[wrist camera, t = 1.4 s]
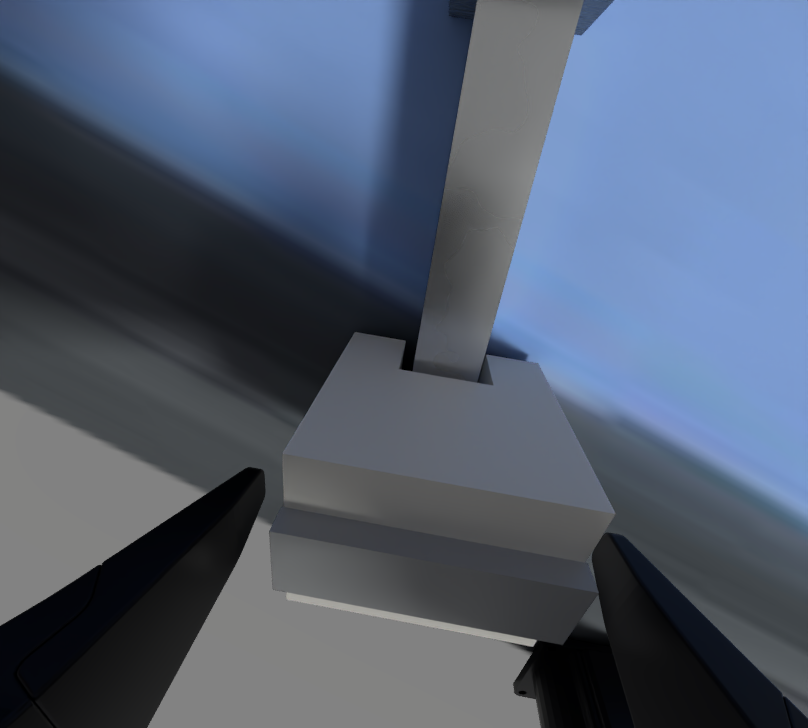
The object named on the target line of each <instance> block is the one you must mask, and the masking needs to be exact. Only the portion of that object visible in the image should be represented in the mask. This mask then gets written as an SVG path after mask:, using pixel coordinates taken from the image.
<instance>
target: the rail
mask: <svg viewBox="0 0 808 728" xmlns="http://www.w3.org/2000/svg"><path fill="white" fill-rule="evenodd" d="M613 1H614V0H449V16H454V17H461V18H468V19H474V21H473V26H472V32H471V38H470V43H469V49H468V55H467V61H466V66H465V72H464V78H463V84H462V89H461V95H460V101H459V107H458V112H457V118H456V124H455V129H454V135H453V141H452V147H451V152H450V158H449V164H448V170H447V175H446V181H445V187H444V193H443V198H442V204H441V210H440V216H439V221H438V227H437V233H436V238H435V244H434V250H433V256H432V261H431V267H430V273H429V279H428V284H427V290H426V296H425V302H424V307H423V313H422V319H421V324H420V330H419V336H418V342H417V347H416V353H415V359H414V365H413V370H412V372H418V373H424V374H429V375H435V376H441V377H447V378H452V379H458V380H464V381H470V382H475V383H477V381H478V378H479V374H480V371H481V367H482V364H483V360H484V356H485V353H486V349H487V346H488V342H489V338H490V335H491V331H492V328H493V324H494V320H495V317H496V313H497V310H498V306H499V303H500V299H501V295H502V292H503V288H504V285H505V281H506V277H507V274H508V270H509V267H510V263H511V259H512V256H513V252H514V249H515V245H516V242H517V238H518V234H519V231H520V227H521V224H522V220H523V216H524V213H525V209H526V206H527V202H528V199H529V195H530V191H531V188H532V184H533V181H534V177H535V173H536V170H537V166H538V163H539V159H540V155H541V152H542V148H543V145H544V141H545V138H546V134H547V130H548V127H549V123H550V120H551V116H552V112H553V109H554V105H555V102H556V98H557V94H558V91H559V87H560V84H561V80H562V77H563V73H564V69H565V66H566V62H567V59H568V55H569V51H570V48H571V44H572V41H573V37H574V34H576V35H582V34H583V33H584V32H585V31H586V30H587V29H588V28H589V27H590V26H591V25H592V23H593V22H594V21H595V20H596V19H597V18H598V17H599V16H600V15H601V14H602V13H603V12H604V11H605V10H606V9H607V7H608V6H609V5H610V4H611V3H612V2H613Z"/></svg>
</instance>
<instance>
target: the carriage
mask: <svg viewBox="0 0 808 728" xmlns="http://www.w3.org/2000/svg"><path fill="white" fill-rule="evenodd" d="M405 344H406V341H405V340H399V339H393V338H387V337H381V336H376V335H370V334H364V333H358V332H355V333H354V334H353V336H352V338H351V339H350V341H349V343H348V344H347V346H346V348H345V349H344V351H343V353H342V354H341V356H340V358H339V359H338V361H337V363H336V365H335V366H334V368H333V370H332V371H331V373H330V375H329V376H328V378H327V380H326V381H325V383H324V385H323V386H322V388H321V390H320V391H319V393H318V395H317V396H316V398H315V400H314V401H313V403H312V405H311V406H310V408H309V410H308V412H307V413H306V415H305V417H304V418H303V420H302V422H301V423H300V425H299V427H298V428H297V430H296V432H295V433H294V435H293V437H292V438H291V440H290V442H289V443H288V445H287V447H286V448H285V450H284V452H283V453H282V456H283V491H284V507H281V509H280V511H279V513H278V515H277V517H276V519H275V521H274V523H273V525H272V527H271V529H270V531H269V535H270V552H271V567H272V585H273V590H277V591H283V592H286V595H287V600H291V601H297V602H302V603H307V604H312V605H317V606H323V607H328V608H333V609H339V610H344V611H349V612H355V613H360V614H364V615H370V616H375V617H381V618H386V619H391V620H396V621H401V622H406V623H412V624H417V625H422V626H427V627H432V628H437V629H443V630H448V631H453V632H459V633H464V634H470V635H474V636H479V637H484V638H490V639H495V640H500V641H505V642H511V643H516V644H521V645H526V646H531V647H533V646H534V644H535V643H536V641H537V640H539V641H544V642H549V643H554V644H560V645H563V644H564V642H565V641H566V639H567V638H568V637H569V635H570V634H571V632H572V631H573V629H574V628H575V627H576V625H577V624H578V622H579V621H580V619H581V618H582V617H583V615H584V614H585V612H586V611H587V609H588V608H589V607H590V605H591V604H592V602H593V601H594V599H595V598H596V596H597V595H598V594H599V592H598V589H597V587H596V584H595V581H594V579H593V576H592V573H591V571H590V568H589V565H588V563H585V562H586V561H587V559H588V558H589V556H590V554H591V553H592V551H593V550H594V548H595V546H596V545H597V543H598V542H599V540H600V538H601V537H602V535H603V534H604V532H605V530H606V529H607V527H608V526H609V524H610V522H611V521H612V519H613V518H614V516H615V512H614V510H613V508H612V506H611V504H610V502H609V500H608V498H607V496H606V494H605V492H604V490H603V488H602V486H601V484H600V483H599V481H598V479H597V477H596V475H595V473H594V471H593V469H592V467H591V465H590V463H589V461H588V459H587V457H586V455H585V453H584V451H583V450H582V448H581V446H580V444H579V442H578V440H577V438H576V436H575V434H574V432H573V430H572V428H571V426H570V424H569V422H568V420H567V418H566V417H565V415H564V413H563V411H562V409H561V407H560V405H559V403H558V401H557V399H556V397H555V395H554V393H553V391H552V389H551V387H550V385H549V384H548V382H547V380H546V378H545V376H544V374H543V372H542V370H541V368H540V366H539V364H538V363H533V362H527V361H521V360H515V359H510V358H504V357H498V356H492V355H486V357H485V360H484V364H483V367H482V371H481V374H480V378H479V382H478V383H475V382H470V381H464V380H458V379H452V378H447V377H441V376H435V375H429V374H424V373H418V372H412V371H406V370H401V369H402V363H403V356H404V350H405Z"/></svg>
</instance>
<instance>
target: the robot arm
mask: <svg viewBox="0 0 808 728" xmlns="http://www.w3.org/2000/svg"><path fill="white" fill-rule="evenodd" d="M264 497H265V476H264V471H263V470H262V469H258V468H252V467H248V468H245V469H244V470H242V471H241V472H239V473H238V474H236V475H235V476H233V477H232V478H230V479H229V480H227V481H225V482H224V483H222V484H221V485H219V486H218V487H216V488H215V489H213V490H212V491H210V492H209V493H207V494H206V495H204V496H203V497H201V498H200V499H198V500H197V501H195V502H194V503H192V504H191V505H189V506H188V507H186V508H184V509H183V510H181V511H180V512H178V513H177V514H175V515H174V516H172V517H171V518H169V519H168V520H166V521H165V522H163V523H162V524H160V525H159V526H157V527H156V528H154V529H153V530H151V531H150V532H148V533H147V534H145V535H143V536H142V537H140V538H139V539H137V540H136V541H134V542H133V543H131V544H130V545H128V546H127V547H125V548H124V549H122V550H121V551H119V552H118V553H116V554H115V555H113V556H112V557H110V558H109V559H107V560H106V561H104V562H103V563H102V565H98V566H96V567H95V568H93V569H92V570H90V571H89V572H87V573H86V574H84V575H83V576H81V577H80V578H78V579H76V580H75V581H74V582H72V583H70V584H69V585H67V586H66V587H64V588H62V589H61V590H59V591H58V592H56V593H54V594H53V595H51V596H50V597H48V598H47V599H45V600H43V601H41V602H40V603H38V604H36V605H35V606H33V607H31V608H30V609H28V610H26V611H25V612H23V613H21V614H20V615H18V616H16V617H14V618H13V619H11V620H9V621H8V622H6V623H5V624H3V625H1V626H0V728H147V727H148V725H149V723H150V721H151V720H152V718H153V716H154V714H155V712H156V710H157V708H158V707H159V705H160V703H161V701H162V699H163V697H164V696H165V693H166V692H167V690H168V688H169V686H170V685H171V683H172V681H173V679H174V677H175V675H176V674H177V672H178V670H179V668H180V666H181V664H182V662H183V661H184V659H185V657H186V655H187V653H188V651H189V650H190V648H191V646H192V644H193V642H194V640H195V638H196V637H197V635H198V633H199V631H200V629H201V628H202V626H203V624H204V622H205V620H206V618H207V616H208V615H209V613H210V611H211V609H212V607H213V605H214V604H215V602H216V600H217V598H218V596H219V594H220V592H221V590H222V589H223V587H224V585H225V583H226V582H227V580H228V578H229V576H230V574H231V572H232V571H233V568H234V567H235V565H236V563H237V561H238V559H239V557H240V555H241V553H242V550H243V548H244V546H245V543H246V541H247V539H248V536H249V534H250V531H251V529H252V526H253V524H254V522H255V519H256V517H257V515H258V512H259V510H260V507H261V505H262V503H263V500H264ZM592 563H593V568H594V573H595V578H596V584H597V589H598V592H599V599H600V604H601V609H602V614H603V619H604V623H605V627H606V631H607V635H608V638H609V642H610V645H611V647H607V646H602V645H596V644H591V643H586V642H581V641H575V640H570V639H566V641H565V642H564V644H563V645H560V644H554V643H549V642H544V641H540V642H539V644H538V645H537V647H536V648H535V650H534V652H533V653H532V655H531V656H530V658H529V659H528V661H527V663H526V664H525V666H524V667H523V669H522V670H521V672H520V674H519V676H518V677H517V679H516V680H515V682H514V683H513V686H514V693H515V694H516V695H518V696H522V697H528V698H533V699H536V703H537V708H538V714H539V719H540V725H541V728H808V718H807V717H806V716H805V715H804V714H803V713H802V712H801V711H800V710H799V709H798V708H797V707H796V706H795V705H794V704H793V703H792V702H791V701H790V700H789V699H788V698H786V697H784V696H783V695H782V693H781V692H780V691H779V690H778V689H777V688H776V687H775V686H774V685H773V684H772V683H771V682H770V681H769V680H768V679H767V678H766V677H765V676H764V675H763V674H762V673H761V672H760V671H759V670H758V669H757V668H756V667H755V666H754V665H753V664H752V663H751V662H750V661H749V660H748V659H747V658H746V657H745V656H744V655H743V654H742V653H741V652H740V651H739V650H738V649H737V648H736V647H735V646H734V645H733V644H732V643H731V642H730V641H729V640H728V639H727V638H726V637H725V636H724V635H723V634H722V633H721V632H720V631H719V630H718V629H717V628H716V627H715V626H714V625H713V624H712V623H711V622H710V621H709V620H708V619H707V618H706V617H705V616H704V615H703V614H702V613H701V612H700V611H699V610H698V609H697V608H696V607H695V606H694V605H693V604H692V603H691V602H690V601H689V600H688V599H687V598H686V597H685V596H684V595H683V594H682V593H681V592H680V591H679V590H678V589H677V588H676V587H675V586H674V585H673V584H672V583H671V582H670V581H669V580H668V579H667V578H666V577H665V576H664V575H663V574H662V573H661V572H660V571H659V570H658V569H657V568H656V567H655V566H654V565H653V564H652V563H651V562H650V561H649V560H648V559H647V558H646V557H645V556H644V555H643V554H642V553H641V552H640V551H639V550H638V549H637V548H636V547H635V546H634V545H633V544H632V543H631V542H630V541H629V540H628V539H627V538H625V537H624V536H622V535H619V534H614V533H605V534H604V535H603V536H602V538H601V539H600V541H599V543H598V544H597V546H596V547H595V549H594V551H593V554H592Z"/></svg>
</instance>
